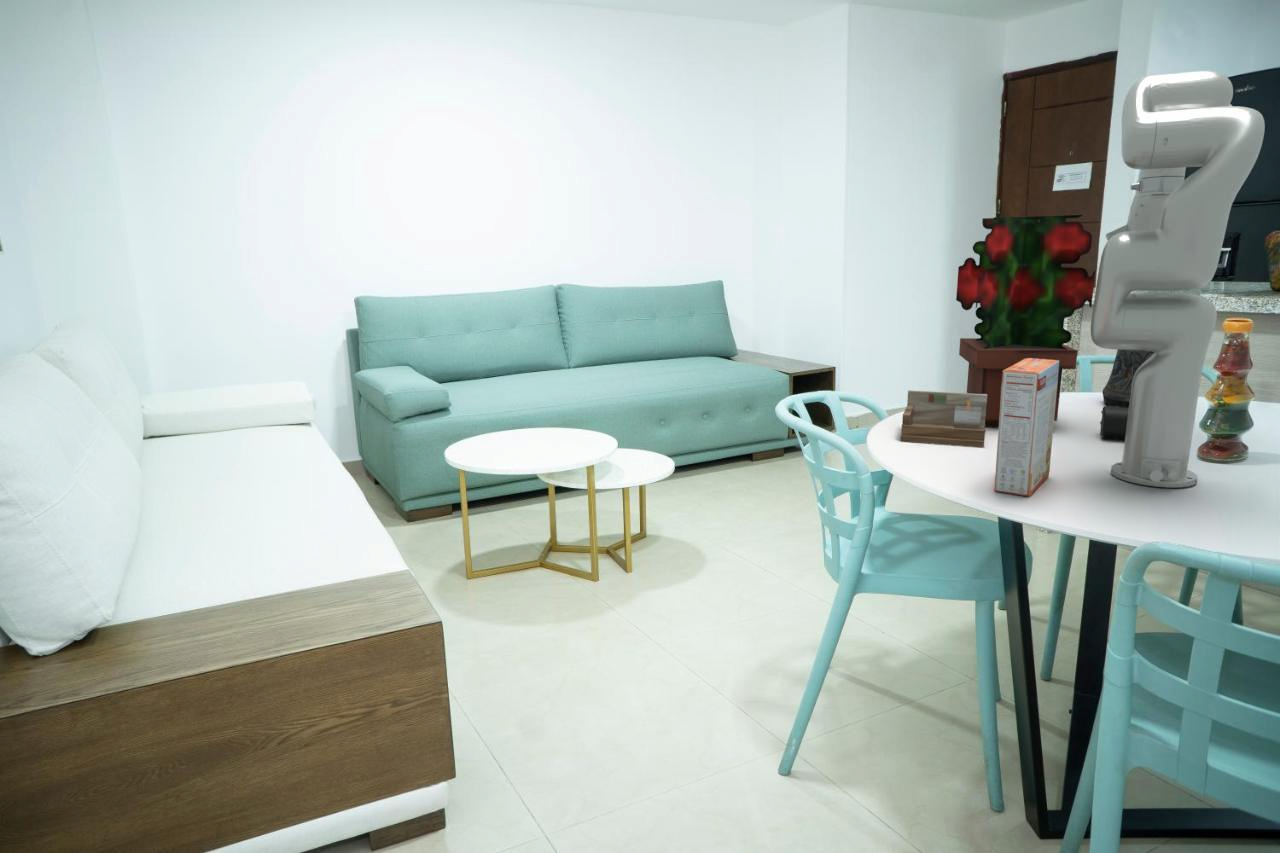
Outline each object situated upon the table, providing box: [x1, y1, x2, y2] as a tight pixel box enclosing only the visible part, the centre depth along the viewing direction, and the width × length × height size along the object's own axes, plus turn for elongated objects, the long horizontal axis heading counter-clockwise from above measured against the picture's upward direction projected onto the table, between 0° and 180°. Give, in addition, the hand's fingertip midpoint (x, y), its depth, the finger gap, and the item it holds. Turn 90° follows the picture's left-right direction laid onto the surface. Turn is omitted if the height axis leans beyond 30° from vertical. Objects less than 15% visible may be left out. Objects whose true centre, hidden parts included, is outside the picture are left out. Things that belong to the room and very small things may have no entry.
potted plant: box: [955, 214, 1096, 427], centre depth 173 cm, size 22×22×45 cm
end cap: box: [1099, 405, 1129, 441], centre depth 160 cm, size 10×7×7 cm
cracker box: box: [993, 358, 1059, 497], centre depth 132 cm, size 14×6×21 cm, turn 141°
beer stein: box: [1102, 349, 1155, 408], centre depth 185 cm, size 16×19×25 cm
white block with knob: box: [954, 400, 981, 429], centre depth 164 cm, size 5×5×6 cm
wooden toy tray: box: [900, 389, 987, 448], centre depth 166 cm, size 14×16×8 cm
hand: (1150, 274), depth 160 cm, fingers open, 9 cm apart
